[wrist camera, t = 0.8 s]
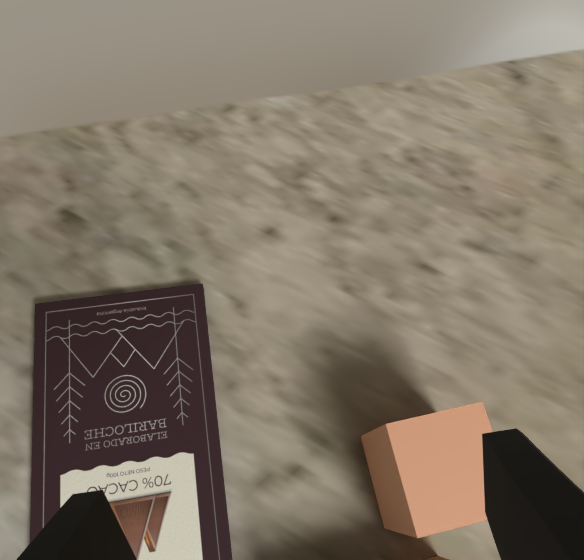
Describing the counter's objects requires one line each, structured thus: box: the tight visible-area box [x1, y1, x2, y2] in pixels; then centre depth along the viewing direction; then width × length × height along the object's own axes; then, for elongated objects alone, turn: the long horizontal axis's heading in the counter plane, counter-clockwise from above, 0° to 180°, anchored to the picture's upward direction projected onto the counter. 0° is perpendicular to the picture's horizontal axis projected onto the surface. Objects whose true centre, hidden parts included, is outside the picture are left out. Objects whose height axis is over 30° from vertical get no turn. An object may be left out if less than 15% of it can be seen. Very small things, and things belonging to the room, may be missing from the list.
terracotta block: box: [361, 402, 493, 538], centre depth 24 cm, size 4×4×6 cm
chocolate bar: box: [30, 284, 232, 560], centre depth 26 cm, size 9×1×18 cm
